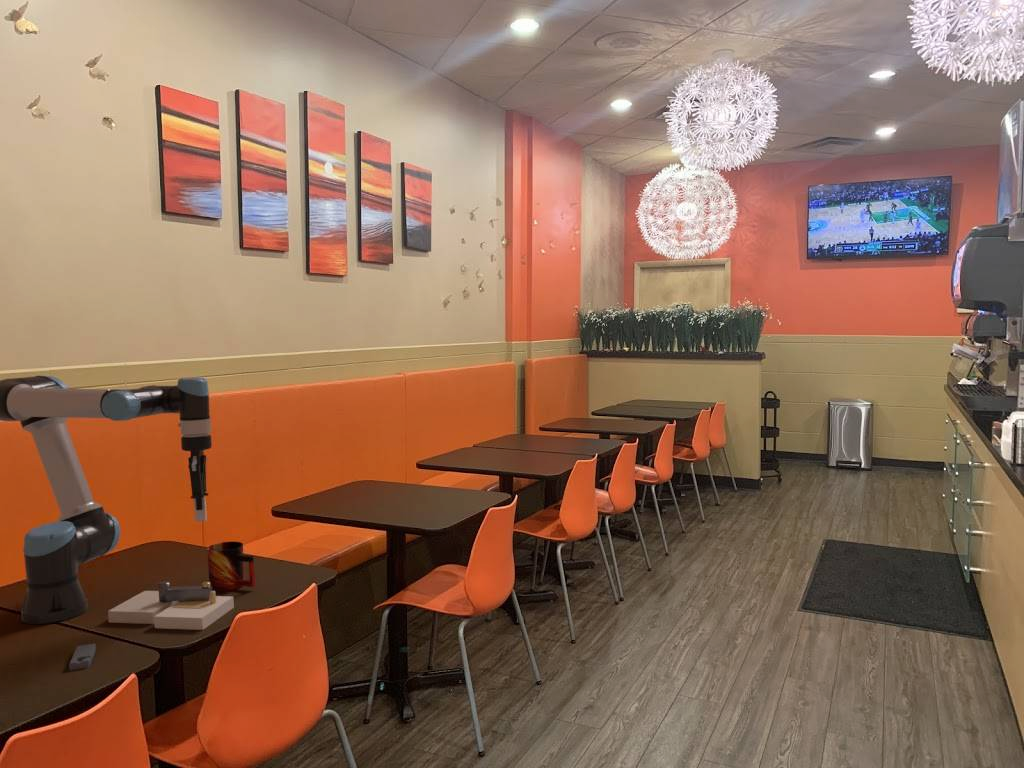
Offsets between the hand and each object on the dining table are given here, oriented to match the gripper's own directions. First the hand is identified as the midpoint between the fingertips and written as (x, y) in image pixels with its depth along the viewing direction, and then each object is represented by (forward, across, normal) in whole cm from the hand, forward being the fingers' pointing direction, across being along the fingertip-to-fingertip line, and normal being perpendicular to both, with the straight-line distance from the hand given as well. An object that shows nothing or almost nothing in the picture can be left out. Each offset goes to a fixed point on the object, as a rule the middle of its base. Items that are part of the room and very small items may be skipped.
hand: (201, 520), depth 205 cm
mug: (+23, -10, +6) cm, 26 cm away
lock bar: (+19, +7, -4) cm, 21 cm away
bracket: (+23, +32, -21) cm, 45 cm away
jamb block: (+22, +4, -13) cm, 26 cm away
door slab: (+22, +12, -1) cm, 26 cm away
